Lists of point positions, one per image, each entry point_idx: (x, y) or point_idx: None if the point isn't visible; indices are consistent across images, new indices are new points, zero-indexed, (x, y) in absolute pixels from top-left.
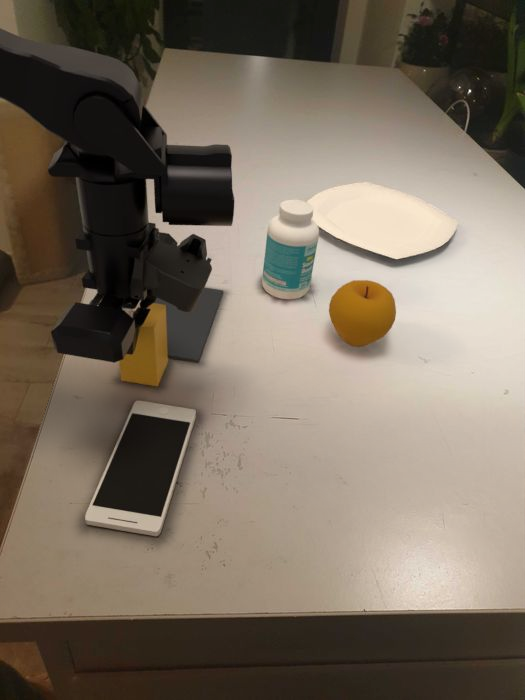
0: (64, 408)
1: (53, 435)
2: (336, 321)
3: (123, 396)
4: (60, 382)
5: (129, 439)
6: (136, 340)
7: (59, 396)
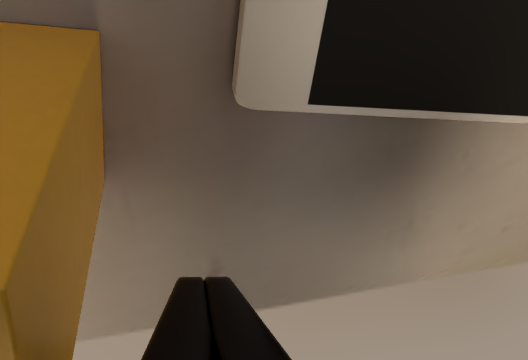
0: (264, 284)
1: (362, 273)
2: None
3: (186, 149)
4: None
5: (436, 81)
6: (191, 339)
7: None
